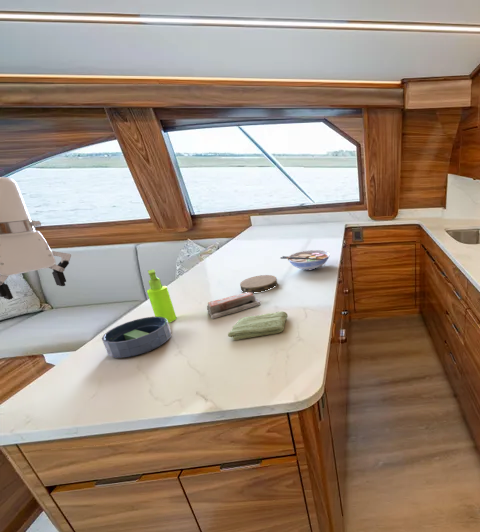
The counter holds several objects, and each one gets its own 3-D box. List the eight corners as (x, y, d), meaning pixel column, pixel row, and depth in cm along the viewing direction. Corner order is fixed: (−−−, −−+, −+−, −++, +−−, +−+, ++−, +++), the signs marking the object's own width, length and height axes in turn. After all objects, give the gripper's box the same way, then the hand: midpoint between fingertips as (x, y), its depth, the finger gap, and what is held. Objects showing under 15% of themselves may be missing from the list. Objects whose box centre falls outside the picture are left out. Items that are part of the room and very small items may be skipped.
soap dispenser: (174, 314, 118) (160, 266, 112) (177, 320, 113) (162, 271, 107) (156, 319, 114) (140, 270, 108) (158, 325, 110) (141, 275, 103)
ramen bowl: (339, 262, 175) (338, 249, 172) (321, 276, 154) (319, 261, 151) (301, 260, 181) (299, 248, 178) (278, 273, 160) (276, 259, 157)
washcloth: (239, 322, 110) (237, 315, 109) (288, 316, 114) (287, 309, 113) (227, 342, 98) (225, 333, 97) (283, 334, 102) (282, 326, 100)
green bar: (156, 342, 98) (154, 334, 97) (145, 348, 95) (142, 340, 94) (138, 336, 101) (135, 329, 100) (126, 342, 98) (123, 334, 97)
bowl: (128, 364, 88) (121, 347, 86) (97, 353, 94) (90, 337, 92) (183, 336, 102) (178, 320, 100) (153, 328, 108) (148, 313, 106)
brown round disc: (260, 279, 153) (258, 273, 152) (284, 282, 147) (283, 277, 146) (233, 291, 139) (232, 285, 138) (259, 295, 133) (258, 289, 132)
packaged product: (209, 308, 111) (204, 300, 118) (212, 319, 113) (207, 311, 120) (259, 294, 122) (252, 287, 129) (261, 305, 124) (254, 297, 131)
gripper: (51, 222, 83) (72, 279, 88) (-55, 233, 68) (-22, 302, 73) (65, 223, 81) (86, 282, 86) (-42, 235, 65) (-9, 306, 70)
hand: (36, 291), depth 79 cm, fingers open, 9 cm apart
